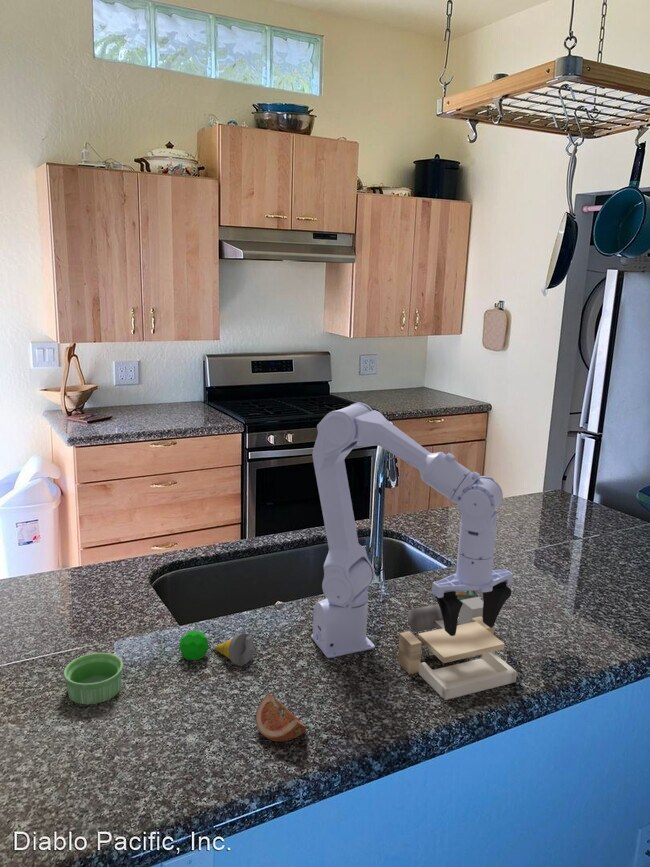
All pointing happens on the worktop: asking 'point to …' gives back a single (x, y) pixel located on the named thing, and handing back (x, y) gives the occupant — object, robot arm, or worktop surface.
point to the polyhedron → (193, 645)
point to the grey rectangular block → (470, 610)
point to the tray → (468, 676)
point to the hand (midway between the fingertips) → (469, 628)
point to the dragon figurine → (466, 595)
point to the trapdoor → (450, 648)
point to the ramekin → (93, 677)
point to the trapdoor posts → (419, 648)
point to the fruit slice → (277, 720)
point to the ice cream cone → (238, 649)
